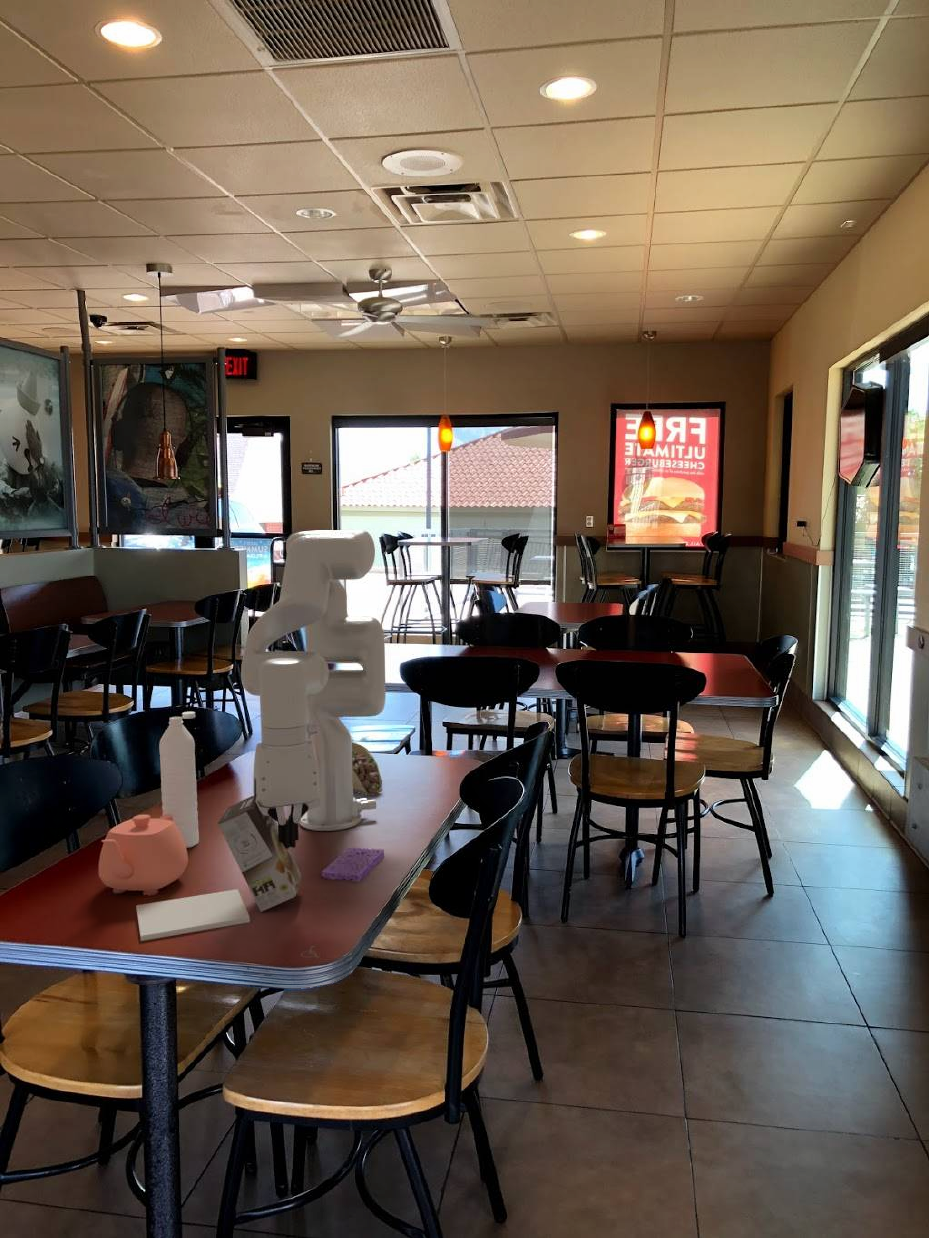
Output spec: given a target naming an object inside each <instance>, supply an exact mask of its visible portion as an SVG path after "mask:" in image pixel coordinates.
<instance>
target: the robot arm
mask: <svg viewBox="0 0 929 1238" xmlns="http://www.w3.org/2000/svg"><path fill="white" fill-rule="evenodd" d="M375 547H376V546H375V543H374V539H373V537H372V535H371V534H370V533H369V532H368V531H366V530H363V529H362V530H358V529H355V530H354V529H352V530H351V529H349V530H348V529H345V530H342V529H341V530H340V529H339V530H334V529H333V530H329V529H326V530H322V529H321V530H319V529H318V530H306V531H305V530H304V531H298V532H295V533H291V535H290V536H288V538H287V540H286V544H285V550H286V559H285V565H284V570H283V576H282V581H281V587H280V594H279V600H278V601H277V602H275V604H273V605H272V606H271V607H269V608H268V609H267V610H266V611H265V612H264V613H263V614H261V616H260V617H259V618H258V619H257V620H256V622H255V623H254V624H253V625H252V626H251V628H250V630H249V632H248V634H247V637H246V641H245V645H244V651H243V655H242V660H241V661H242V662H241V667H240V668H241V669H240V670H241V671H240V678H241V680H240V681H241V684H242V687H243V688H244V690H245V691H246V692H247V693H248V694H249V695H252V696H256V697H259V705H260V706H259V707H260V709H259V710H260V734H261V736H260V737H261V742H260V743H259V742H258V743H257V744H256V746H255V751H254V762H253V777H252V778H253V781H252V782H253V784H252V785H253V786H252V787H253V789H252V790H253V791H252V793H253V795H254V799H255V800H256V801H255V802H256V804H257V806H258V807H259V809H260V811H261V812H262V814H263V815H265V816H266V815H267V816H270V817H272V818H273V819H274V820H275V821H276V823H277V825H278V838H279V842H280V843H282V844H283V846H284V847H285V849H288V848H289V849H290V848H292V849H295V848H296V845H297V844H296V843H297V842H296V841H299V839H300V836H299V825H300V826H301V827H303V828H305V829H307V830H311V831H320V832H332V831H341V830H345V829H349V828H352V827H354V826H357V825H358V824H360V822H361V821H362V812H363V811H364V810H365V811H366V810H375V809H377V801H376V799H369V800H367V798H360V799H357V798H355V796H354V791H353V770H352V742H353V741H352V735H351V732H350V731H349V729H348V728H347V726H346V725H345V724H344V723H343V721H342V719H340V718H351V717H352V718H357V717H359V718H360V717H361V718H362V717H363V718H365V717H366V718H367V717H369V718H370V717H376V716H379V715H380V714H381V713H382V712H383V711H384V709H385V705H386V653H385V652H386V651H385V648H386V647H385V633H384V628H383V626H382V624H381V622H380V621H379V619H377V618H374V617H373V616H349V615H348V596H347V595H348V594H347V591H346V589H345V587H344V585H343V583H341V580H348V581H349V580H351V581H353V580H355V581H356V580H361V579H362V578H364V577H365V576H366V575H367V574H368V573H369V572H370V571H371V569H372V567H373V566H374V565H373V564H374V562H375V555H376V548H375ZM302 628H304V634H305V635H304V636H305V638H304V639H305V640H304V641H305V650H304V651H302V650H297V651H291V650H282V651H281V650H279V651H272V650H271V651H269V650H268V648H269V647H270V646H271V645H272V644H273V643H274V642H276V641H277V640H279V639H280V638H282V637H284V636H287V634H288V635H289V634H290V633H293V632H295V631H298V630H301V629H302ZM267 650H268V651H267ZM328 664H358V665H360V666H361V667H362V669H329V665H328ZM288 806H290V807H289V808H290V809H289V816H288V818H286V814H285V808H284V807H288Z"/></svg>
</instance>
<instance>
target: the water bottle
mask: <svg viewBox="0 0 929 1238" xmlns="http://www.w3.org/2000/svg"><path fill="white" fill-rule="evenodd" d="M181 715H182V716H171V717H169V719H168V720H169V722H168V724H169V725H168V726H167V729H165V731H164V733H163V735H162V737H161V738H160V740H159V743H158V745H159V747H158V748H159V749H158V750H159V755H160V756H159V760H160V762H159V763H160V780H161V782H160V788H161V789H160V791H161V803H162V804H161V808H162V815H164V814H171V815H172V816H173V822H174V823H175V824H176V826H177V828H178V830H179V832H180V833H181V835H182V838H183V840H184V843H185V846H186V849H187V848H188V849H189V848H193V847H195V846H196V845H198V844H199V841H200V837H199V835H200V834H199V833H200V832H199V820H198V817H199V813H198V812H199V811H198V800H197V799H198V794H197V793H198V792H197V778H196V777H197V773H196V772H197V771H196V754H195V752H196V751H195V750H196V748H195V747H196V743H195V739H194V737H193V735H192V734H191V733H190V731H189V730H188V729H187V727H185V725H184V724H183V723H184V721H183V719H184V720H185V719H195V718H196V712H195V711H184V712H182V713H181Z"/></svg>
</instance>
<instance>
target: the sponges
mask: <svg viewBox="0 0 929 1238" xmlns="http://www.w3.org/2000/svg"><path fill="white" fill-rule="evenodd" d="M384 857H385V850H384V848H371V849H370V848H365V847H363V848H361V847H356V846H355V847H352V846H348V847H347V849H346V850H345V851H344V852H343V854H340V855H339V856H337V858H336V859H335V860H333V861H332V862H331V863H330V864H329V865H328V866H327V867H326V868H324V869H323V870H322V872H321V873H322V874H321V875H322V877H323V878H324V879H325V878H333V879H332V880H335V879H345V880H344V881H348V880H350V882H361V880H362V878H363V879H364V877H366V875H368V874H369V873H370V871H371V870H372V869H373V868H375V866H376V865H377V864H379V862H380V861H382V860H383V859H384Z"/></svg>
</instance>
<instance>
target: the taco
mask: <svg viewBox="0 0 929 1238" xmlns="http://www.w3.org/2000/svg"><path fill="white" fill-rule="evenodd" d="M352 770H353V792H354V791H356V792H355V793H357V792H360V793H359V794H361V793H363V794H362V795H365V794H367V795H366V796H368V795H372V794H375V795H374V796H378V795H380V793H382V792H383V790H384V789H383V780H382V776H381V773H380V769H379V765H378V762H377V761H376V760H375V758H374V756H373V755H372V754H371V752H370V751H369V749H367V748H366V747H364V745H362V744H360V743H356V742H354V741H352ZM379 792H380V793H379ZM377 794H378V795H377Z"/></svg>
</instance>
